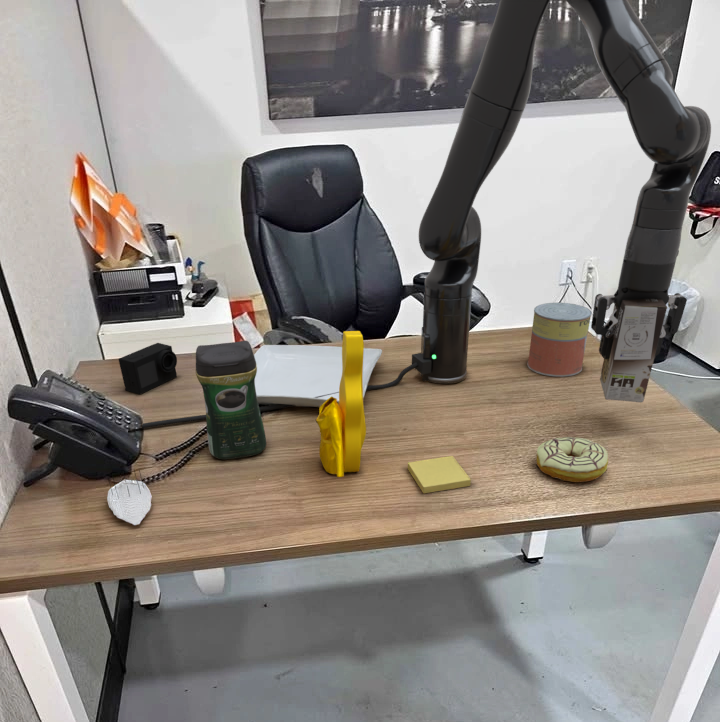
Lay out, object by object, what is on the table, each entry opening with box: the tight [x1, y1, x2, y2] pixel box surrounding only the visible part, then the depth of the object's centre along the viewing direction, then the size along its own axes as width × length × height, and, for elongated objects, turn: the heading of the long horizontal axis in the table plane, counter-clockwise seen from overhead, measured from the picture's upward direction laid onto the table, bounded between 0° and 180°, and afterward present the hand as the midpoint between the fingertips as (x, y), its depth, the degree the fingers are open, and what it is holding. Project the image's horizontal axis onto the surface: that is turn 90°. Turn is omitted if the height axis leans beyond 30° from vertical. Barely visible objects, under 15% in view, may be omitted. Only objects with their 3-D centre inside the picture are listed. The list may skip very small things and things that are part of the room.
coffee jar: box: [195, 340, 267, 460], centre depth 106 cm, size 10×8×19 cm
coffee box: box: [599, 299, 668, 404], centre depth 108 cm, size 9×6×16 cm
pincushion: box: [106, 469, 153, 526], centre depth 95 cm, size 12×6×6 cm, turn 25°
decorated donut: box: [535, 436, 609, 483], centre depth 102 cm, size 10×11×4 cm
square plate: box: [253, 344, 383, 408], centre depth 132 cm, size 27×27×4 cm
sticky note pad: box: [407, 455, 472, 494], centre depth 101 cm, size 8×8×1 cm
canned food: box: [526, 302, 593, 378], centre depth 135 cm, size 11×11×12 cm
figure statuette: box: [315, 330, 367, 478], centre depth 100 cm, size 18×8×22 cm, turn 11°
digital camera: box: [118, 342, 178, 395], centre depth 133 cm, size 10×5×7 cm, turn 148°
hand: (627, 357), depth 109 cm, fingers closed on coffee box, 7 cm apart
